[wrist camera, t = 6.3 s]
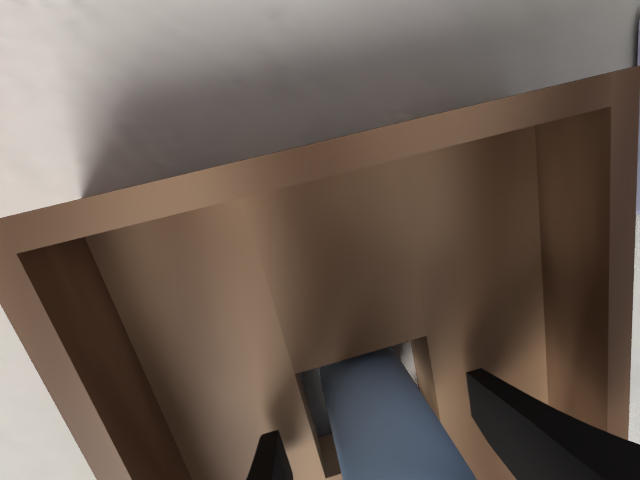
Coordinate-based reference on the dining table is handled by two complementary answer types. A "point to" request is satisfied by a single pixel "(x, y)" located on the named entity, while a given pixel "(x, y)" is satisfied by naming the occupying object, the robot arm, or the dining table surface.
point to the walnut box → (340, 283)
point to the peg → (386, 423)
